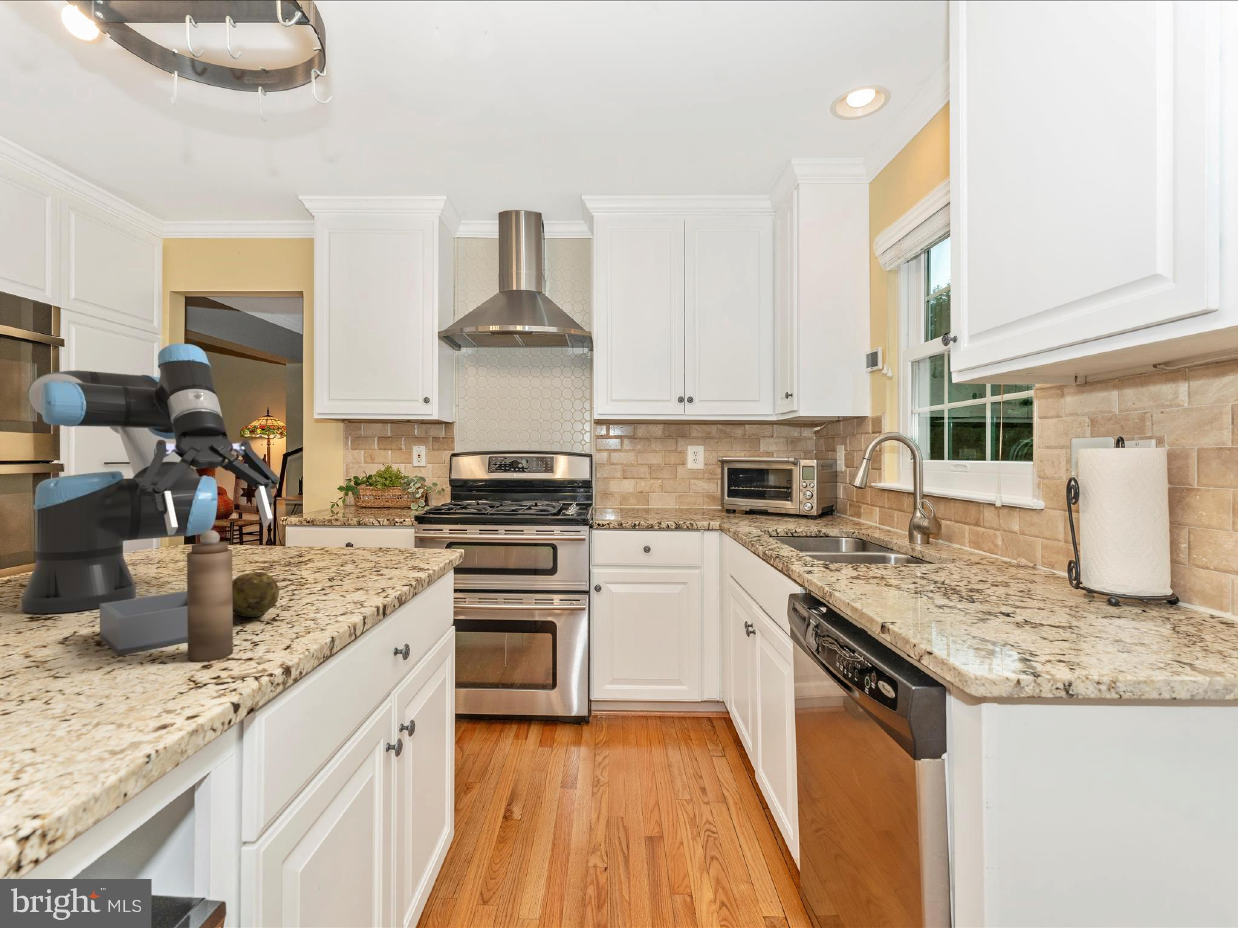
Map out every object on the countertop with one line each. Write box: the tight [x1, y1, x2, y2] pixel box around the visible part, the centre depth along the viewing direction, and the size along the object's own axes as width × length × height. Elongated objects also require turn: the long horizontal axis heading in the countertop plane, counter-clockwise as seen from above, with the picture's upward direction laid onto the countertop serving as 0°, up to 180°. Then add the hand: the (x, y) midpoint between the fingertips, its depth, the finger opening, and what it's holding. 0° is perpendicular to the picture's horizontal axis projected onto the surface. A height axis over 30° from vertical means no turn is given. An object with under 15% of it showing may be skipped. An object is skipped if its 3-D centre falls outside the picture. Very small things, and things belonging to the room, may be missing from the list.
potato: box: [232, 571, 280, 618], centre depth 98 cm, size 8×13×8 cm, turn 32°
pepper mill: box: [186, 529, 234, 663], centre depth 80 cm, size 5×5×17 cm
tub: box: [99, 590, 188, 657], centre depth 88 cm, size 12×12×5 cm
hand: (223, 526), depth 99 cm, fingers open, 13 cm apart
